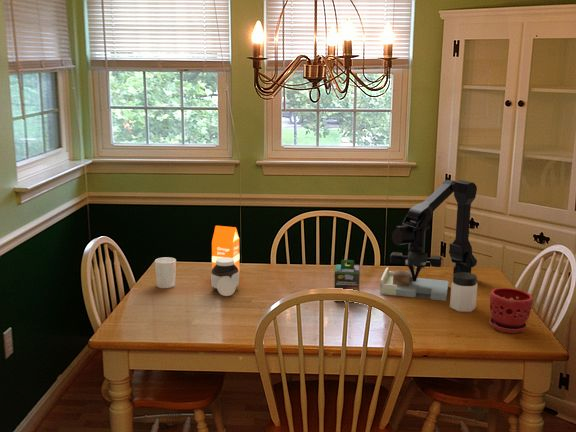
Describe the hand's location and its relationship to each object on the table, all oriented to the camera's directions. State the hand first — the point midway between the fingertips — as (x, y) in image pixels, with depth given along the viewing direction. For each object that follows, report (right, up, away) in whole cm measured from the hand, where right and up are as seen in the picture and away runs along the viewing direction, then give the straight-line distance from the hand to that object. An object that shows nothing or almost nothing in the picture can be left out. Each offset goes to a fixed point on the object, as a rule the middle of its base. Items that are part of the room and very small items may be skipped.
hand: (414, 281), depth 254 cm
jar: (+14, -8, -16) cm, 23 cm away
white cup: (-94, -2, +2) cm, 94 cm away
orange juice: (-72, +1, +16) cm, 74 cm away
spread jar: (-71, -4, -3) cm, 71 cm away
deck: (0, -4, +1) cm, 4 cm away
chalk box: (-26, -6, -8) cm, 28 cm away
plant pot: (+25, -12, -33) cm, 43 cm away
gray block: (-1, -2, +7) cm, 7 cm away
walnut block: (-5, -1, +1) cm, 5 cm away
